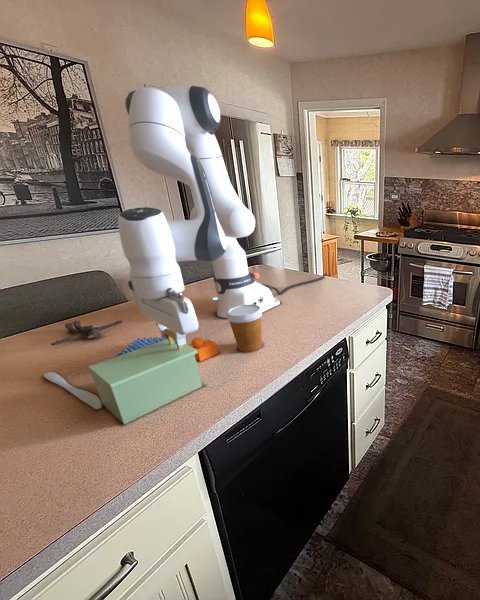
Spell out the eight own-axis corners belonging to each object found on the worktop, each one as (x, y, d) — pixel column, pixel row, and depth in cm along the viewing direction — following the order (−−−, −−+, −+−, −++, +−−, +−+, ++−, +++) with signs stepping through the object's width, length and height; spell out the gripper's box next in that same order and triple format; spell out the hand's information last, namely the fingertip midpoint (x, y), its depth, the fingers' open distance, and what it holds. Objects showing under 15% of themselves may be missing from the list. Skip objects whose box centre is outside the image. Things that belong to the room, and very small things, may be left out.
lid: (173, 339, 82) (169, 322, 80) (198, 352, 76) (193, 334, 74) (89, 369, 69) (81, 349, 67) (111, 388, 63) (103, 366, 61)
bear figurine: (104, 311, 112) (128, 315, 106) (108, 323, 113) (132, 327, 107) (32, 332, 96) (55, 338, 90) (38, 345, 98) (61, 352, 92)
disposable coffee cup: (233, 342, 99) (226, 306, 95) (266, 337, 103) (261, 301, 98) (231, 357, 91) (224, 318, 87) (268, 351, 94) (262, 313, 90)
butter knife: (57, 368, 83) (41, 374, 81) (109, 403, 71) (92, 411, 69) (58, 370, 83) (41, 376, 81) (110, 406, 72) (93, 413, 69)
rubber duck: (210, 349, 95) (206, 330, 93) (218, 353, 93) (214, 334, 91) (188, 358, 90) (184, 339, 88) (196, 362, 88) (191, 343, 86)
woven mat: (115, 362, 88) (112, 355, 87) (137, 343, 98) (136, 337, 97) (157, 359, 89) (155, 352, 89) (175, 341, 99) (174, 335, 98)
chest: (178, 371, 84) (170, 341, 81) (202, 386, 78) (194, 354, 75) (102, 403, 72) (89, 369, 69) (124, 424, 66) (111, 388, 63)
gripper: (199, 290, 69) (211, 347, 74) (154, 274, 79) (168, 325, 84) (166, 298, 64) (182, 359, 69) (123, 280, 74) (139, 334, 79)
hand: (174, 340), depth 76 cm, fingers closed on lid, 5 cm apart
